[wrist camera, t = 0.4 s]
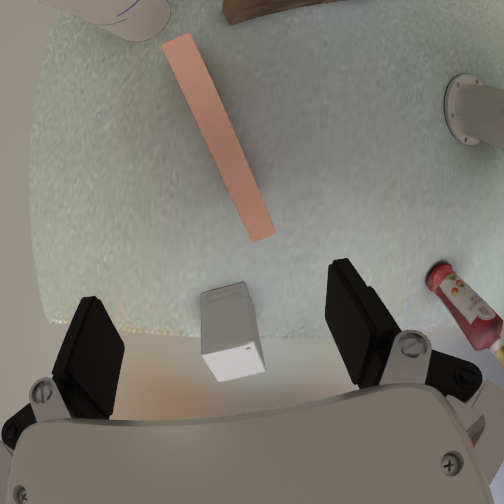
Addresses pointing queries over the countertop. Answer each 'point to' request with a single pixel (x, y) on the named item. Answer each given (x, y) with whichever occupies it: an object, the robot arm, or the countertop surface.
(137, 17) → the cylindrical container
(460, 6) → the countertop surface
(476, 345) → the liquor
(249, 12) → the walnut slotted plate
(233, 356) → the supplement box
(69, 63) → the countertop surface
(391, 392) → the robot arm
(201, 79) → the terracotta slotted plate
